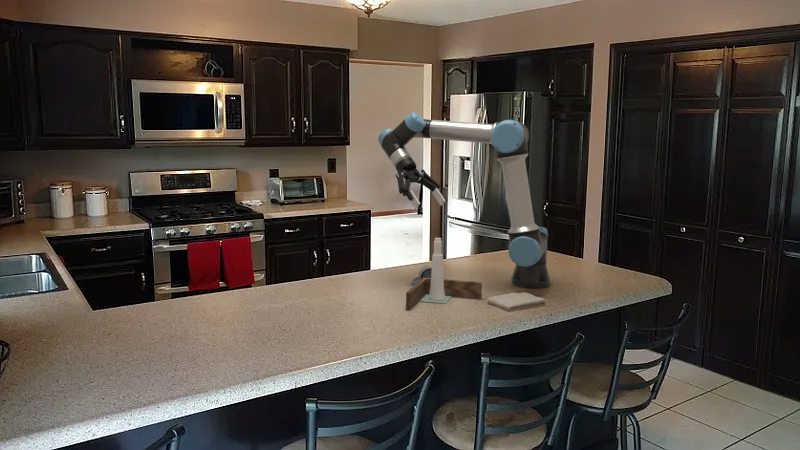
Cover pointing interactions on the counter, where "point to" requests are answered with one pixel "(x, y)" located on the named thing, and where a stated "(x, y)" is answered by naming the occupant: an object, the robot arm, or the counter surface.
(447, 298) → the mat
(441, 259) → the cosmetic bottle
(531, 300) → the washcloth
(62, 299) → the counter surface
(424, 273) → the ceramic mug
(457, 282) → the walnut corner walls
